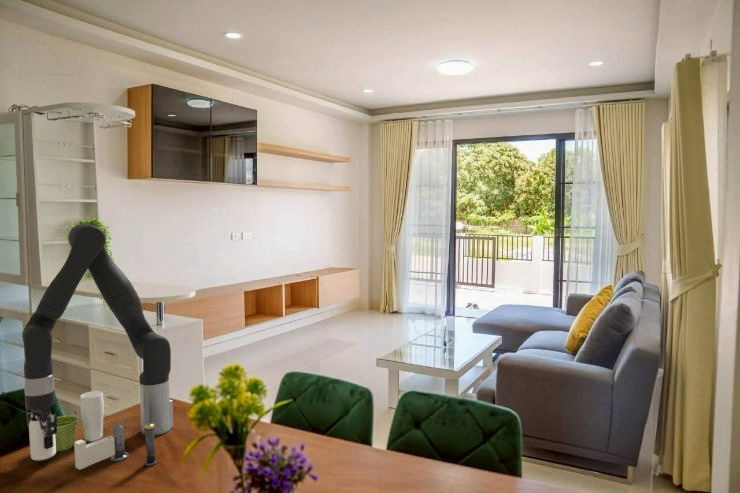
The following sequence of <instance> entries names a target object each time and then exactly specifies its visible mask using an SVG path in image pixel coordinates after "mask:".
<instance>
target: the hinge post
mask: <svg viewBox="0 0 740 493" xmlns="http://www.w3.org/2000/svg"><path fill="white" fill-rule="evenodd" d="M124 427H125V425H124V423H117V424H113V426H112V436H113V437H114V444H115V455H113V456H111V457H110V461H111V462H113V463H115V462H122V461H125V460H126V459H128V458H129V455H130V454H129V452H127V451H126V447H125V446H126V445H125V443H126V442H125V428H124Z"/></svg>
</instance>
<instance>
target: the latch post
mask: <svg viewBox="0 0 740 493" xmlns="http://www.w3.org/2000/svg"><path fill="white" fill-rule="evenodd" d="M154 427H155V424H154V423H148V424H145V425H144V429H145V435H144V436H145V452H146V453H145V457H146V460H145V461H144V466H145V467H154V466H156V465H157V464H158V462H159V461H158V460H159V459H157V458H156V447H155V446H156V445H155V435H154Z"/></svg>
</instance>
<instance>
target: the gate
mask: <svg viewBox="0 0 740 493" xmlns="http://www.w3.org/2000/svg"><path fill="white" fill-rule="evenodd" d="M73 448H74V464H75V469H77V470H79V471H80V470H83V469H86V468H88V467H89V466H91V465H93V464H96V463H99V462H101V461H103V460H106V459H108V458H111V456H113V455H115V444H114V437H113V435H108V436H105V437H102V438H101V439H99V440H96V441H91V442H89V443H87V441H86V440H85V439H84V440H83V439H78V440H76V441H74V445H73Z"/></svg>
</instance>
